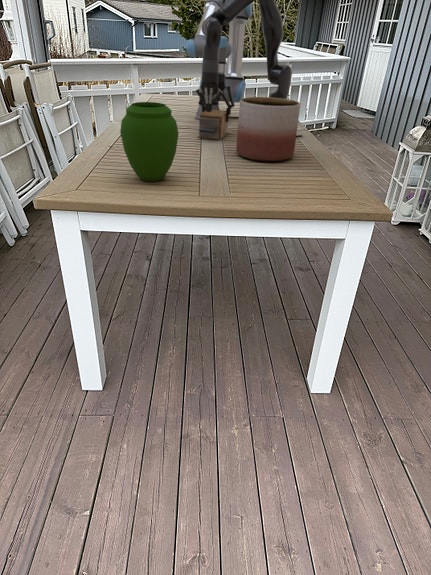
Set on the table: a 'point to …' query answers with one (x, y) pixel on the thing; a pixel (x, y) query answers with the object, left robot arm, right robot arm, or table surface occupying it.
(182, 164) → the table surface
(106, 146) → the table surface
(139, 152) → the vase
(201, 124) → the drawer
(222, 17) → the right robot arm
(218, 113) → the tan rectangular mottled block
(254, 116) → the planter
